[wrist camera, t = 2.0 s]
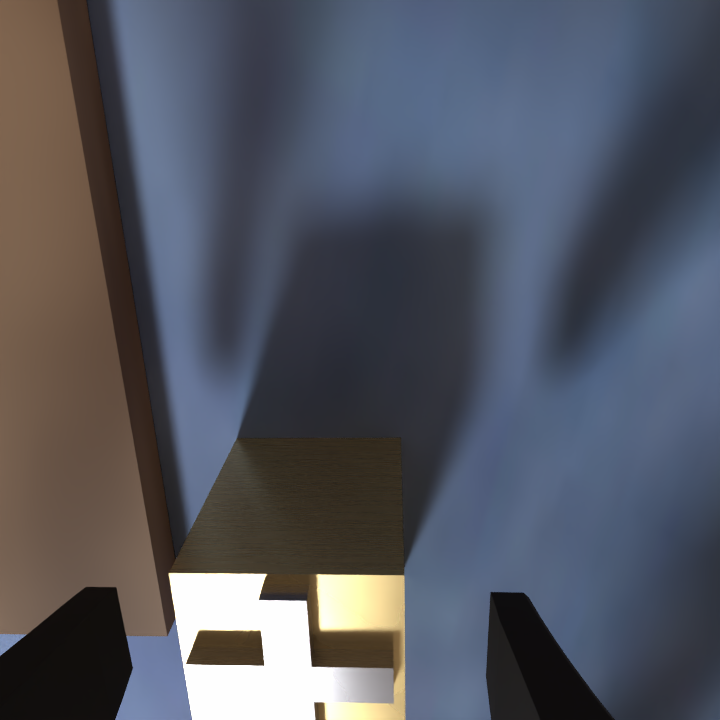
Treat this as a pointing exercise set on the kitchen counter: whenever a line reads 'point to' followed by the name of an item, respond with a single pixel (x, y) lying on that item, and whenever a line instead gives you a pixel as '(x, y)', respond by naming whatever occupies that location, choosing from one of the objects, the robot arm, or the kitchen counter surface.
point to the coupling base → (70, 344)
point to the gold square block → (296, 584)
